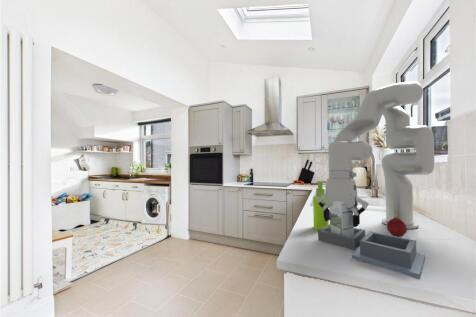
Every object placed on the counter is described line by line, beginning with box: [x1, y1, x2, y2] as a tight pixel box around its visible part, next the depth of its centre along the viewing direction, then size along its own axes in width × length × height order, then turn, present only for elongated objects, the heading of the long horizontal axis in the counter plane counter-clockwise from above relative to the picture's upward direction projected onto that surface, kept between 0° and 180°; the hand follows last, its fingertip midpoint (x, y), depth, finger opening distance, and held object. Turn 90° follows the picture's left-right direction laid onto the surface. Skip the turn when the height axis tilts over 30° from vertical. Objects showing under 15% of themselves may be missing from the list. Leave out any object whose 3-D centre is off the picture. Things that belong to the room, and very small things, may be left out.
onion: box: [386, 216, 408, 238], centre depth 75 cm, size 6×6×8 cm
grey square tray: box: [317, 223, 366, 251], centre depth 74 cm, size 12×12×4 cm
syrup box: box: [329, 201, 355, 237], centre depth 74 cm, size 6×6×14 cm
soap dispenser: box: [312, 180, 330, 231], centre depth 87 cm, size 6×7×20 cm
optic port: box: [350, 231, 426, 279], centre depth 60 cm, size 15×15×5 cm
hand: (340, 223), depth 74 cm, fingers open, 9 cm apart
